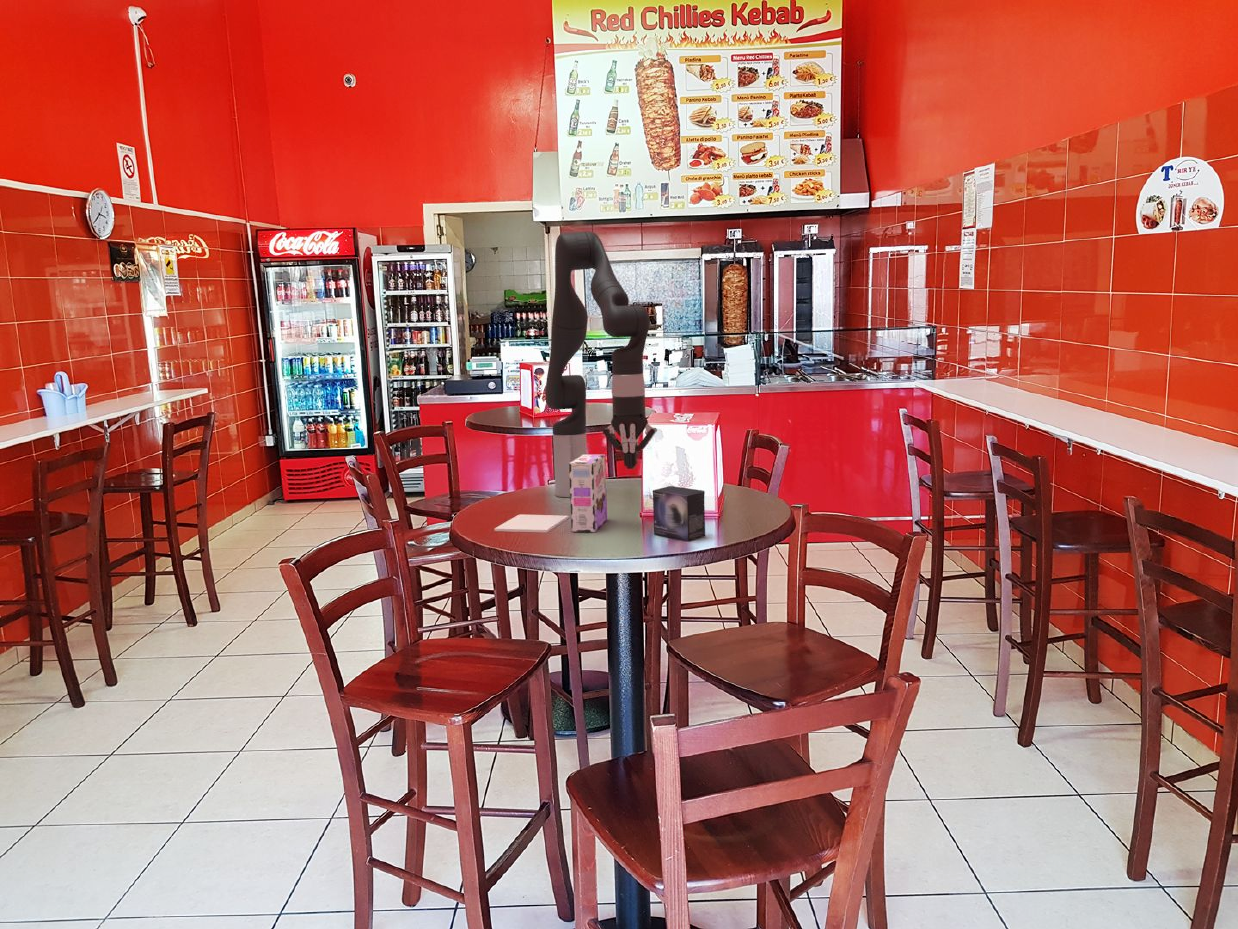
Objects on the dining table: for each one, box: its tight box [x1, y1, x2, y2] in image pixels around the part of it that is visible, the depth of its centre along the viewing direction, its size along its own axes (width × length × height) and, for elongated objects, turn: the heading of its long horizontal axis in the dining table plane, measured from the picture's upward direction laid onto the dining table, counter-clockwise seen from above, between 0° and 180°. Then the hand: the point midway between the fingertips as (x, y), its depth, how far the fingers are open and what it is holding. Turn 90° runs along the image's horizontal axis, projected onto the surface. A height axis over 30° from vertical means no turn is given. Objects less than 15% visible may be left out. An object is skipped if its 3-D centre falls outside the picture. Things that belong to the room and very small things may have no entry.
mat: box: [494, 514, 570, 534], centre depth 231 cm, size 16×13×1 cm
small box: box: [652, 485, 706, 542], centre depth 214 cm, size 11×6×10 cm, turn 45°
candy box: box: [569, 453, 608, 533], centre depth 226 cm, size 14×6×16 cm, turn 168°
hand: (630, 468), depth 222 cm, fingers closed
